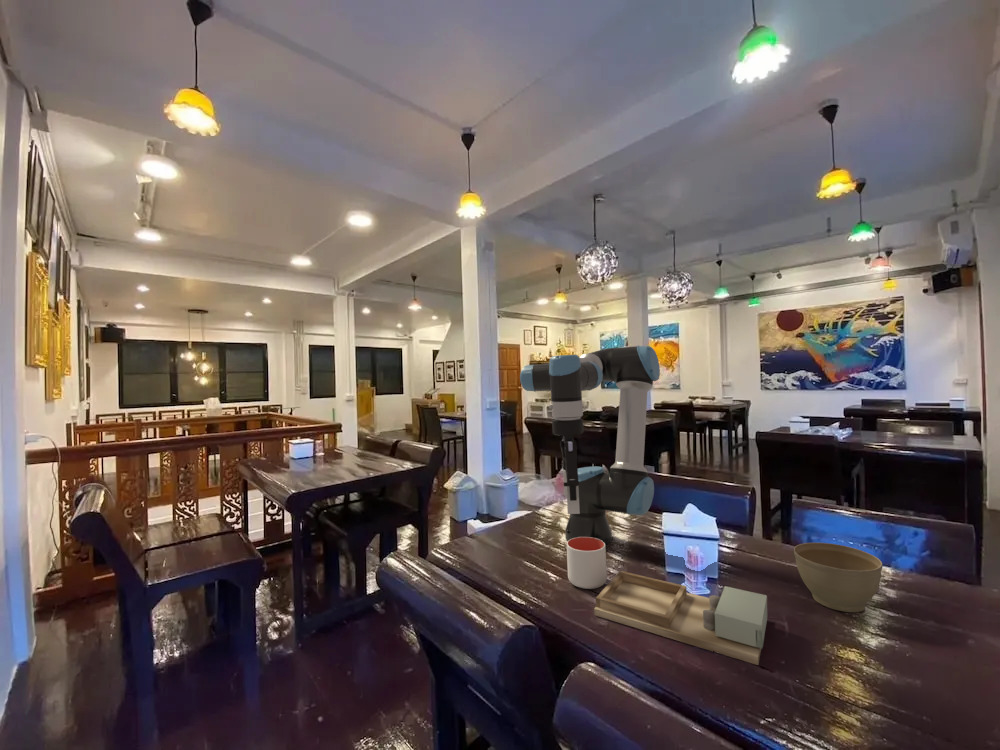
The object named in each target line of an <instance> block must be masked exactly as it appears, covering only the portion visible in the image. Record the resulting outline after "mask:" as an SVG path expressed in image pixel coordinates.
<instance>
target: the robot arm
mask: <svg viewBox="0 0 1000 750" xmlns="http://www.w3.org/2000/svg"><path fill="white" fill-rule="evenodd" d="M660 371H661V369H660V362H659V358H658V355H657V352H656V351H655V349H654V348H653V347H651V345H650V346H649V345H635V346H623V347H609V348H608V347H607V348H603V349H600V350H595V351H592V352H589V353H588V352H587V353H584V354H582V355H581V356H579V355H577V354H563V355H562V354H561V355H552V356H550V358H549V362H548V363H542V364H540V363H539V364H529V365H528V364H527V365H524V366H523V367H522V369H521V371H520V375H519V379H520V384H521V388H522V389H524V390H525V391H526V392H535V393H536V392H550V402H551V404H549V406H548V409H550V410H551V416H552V417H553V419H552V420H551V424H552V426H551V427H552V428H551V429H552V434H553V435H555V436H559V437H560V436H561V440H560V441H559V447H560V451H561V455H562V463H561V464H562V469H563V471H562V472H563V473H562V475H563V476H562V477H563V496H564V497H566V503H567V505H566V506H567V514H568V515H569V516H568V520H567V523H566V527H565V531H564V533H565V540H566V541H567V542H568V541H569V540H570V539H573V538H577V537H592V538H596V539H599V540H601V541H603V542H604V543H605V546H606V545H608V544H610V543H612V541H613V533H612V529H611V526H610V523H609V521H608V520H609V519H608V517H607V516H606V514H607V513H606V511H608V512H613V513H619V514H620V513H621V514H626V515H627V516H628V515H629V516H632V515H634V516H643V515H645V514H647V512H648V511H649V509H650V508H651V506H652V503H653V499H654V496H655V495H654V494H655V484H654V480H653V479H652V478H651V477H650V476H649V471H648V469H646V468H645V466H644V460H645V458H644V457H645V443H646V441H645V440H646V424H647V423H646V421H647V409H648V407H647V405H648V392H649V391H651V390H652V389H653V387H654V385H653V383H654V382H657V381H659V379H660V375H661V372H660ZM602 382H615V386H616V387H617V388H618V389H619V391H620V392H619V402H618V403H619V404H618V420H617V433H616V446H615V447H616V449H615V461H614V463H613V464H612V465H611V466H610V467H609V472H605V469H604V467H602V466H596V465H595V466H584V467H579V468H578V460H577V459H578V442H577V439H576V440H575V439H574V436H579V435H582V434H583V433H584V419H583V418H582V417H583V416H584V412H583V407H584V406H583V397H582V394H583V393H582V392H585V391H592V390H594V389H597V388H598V387H599V386H600V385H601V384H602Z"/></svg>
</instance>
